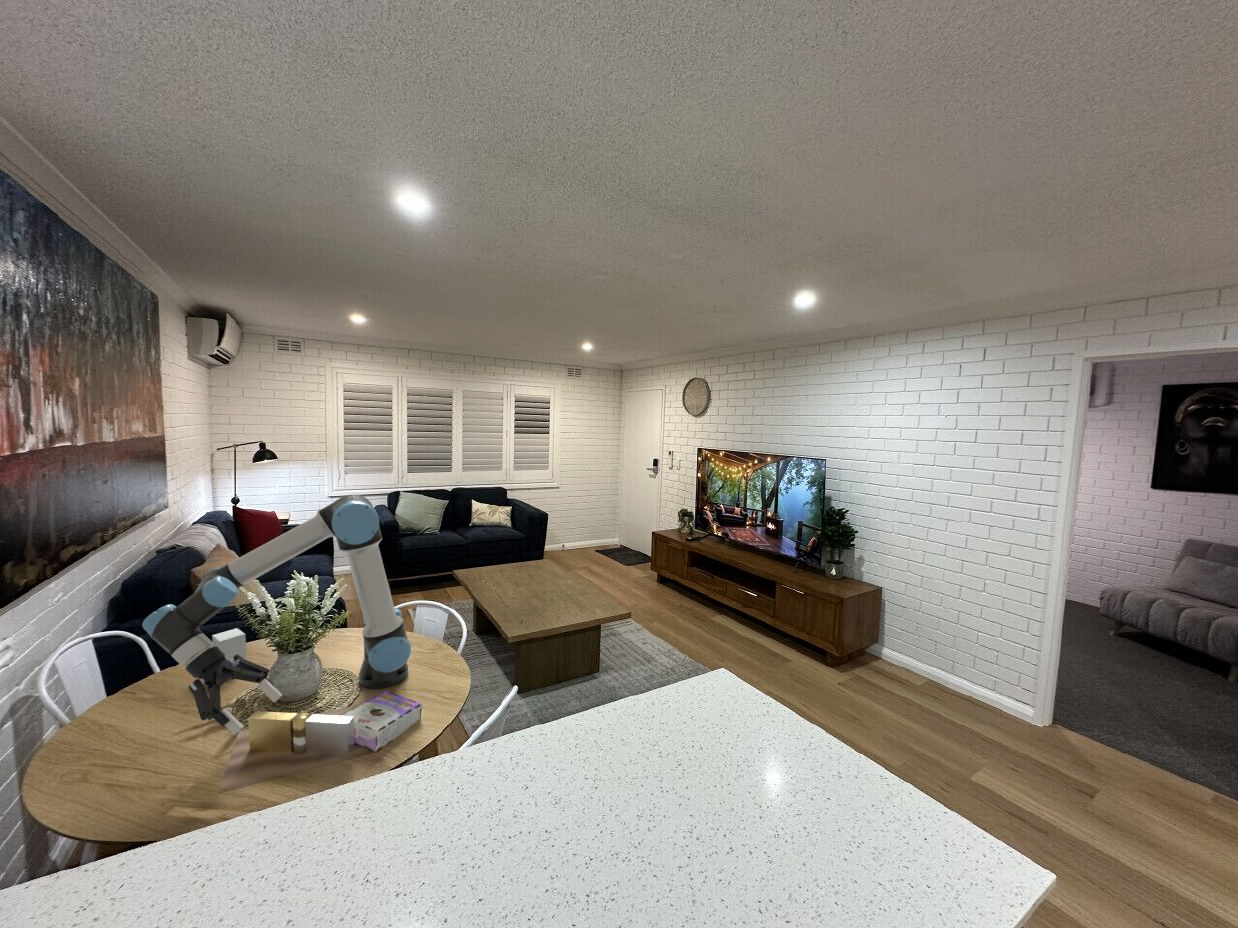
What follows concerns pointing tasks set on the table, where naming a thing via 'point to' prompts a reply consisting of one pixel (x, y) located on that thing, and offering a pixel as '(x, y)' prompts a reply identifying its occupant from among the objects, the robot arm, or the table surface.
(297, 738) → the fixed hinge leaf
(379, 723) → the candy box
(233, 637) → the grey tall block
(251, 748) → the loose hinge leaf
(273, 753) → the walnut board
